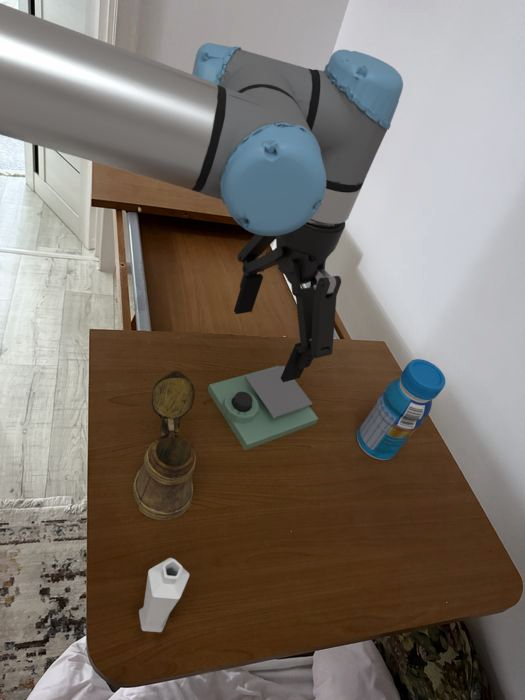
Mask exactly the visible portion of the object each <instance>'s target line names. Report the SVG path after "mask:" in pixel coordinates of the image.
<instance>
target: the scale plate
mask: <svg viewBox="0 0 525 700" xmlns="http://www.w3.org/2000/svg"><path fill="white" fill-rule="evenodd" d="M285 367H286V365H279V367H277V368H273V369H270V370H266V371H262V372H259V373H255V374H251V375H248V376H245V380H246V381H247V383H248V384H249V386H250V387H251V388H252V390H253V391H254V393H255V394H256V396H257V397H258V399H259V400H260V402H261V403H262V404H263V406H264V407H265V409H266V410H267V412H268V413H269V415H270V416H271V418H272V419H276V418H278V417H281V416H284V415H287V414H290V413H293V412H296V411H299V410H302V409H305V408H307V407H310V408H311V407H313V405H314V404H313V402H312V401H311V399H310V398H309V396H307V394H306V392H305V391H304V390H303V389H302V387H301V386H300V385H299V384H298V382H297V381H296V379H294V380H291V381H287V382H283V381H282V380H281V376H282V374H283V371H284V369H285Z"/></svg>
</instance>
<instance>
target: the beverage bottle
mask: <svg viewBox="0 0 525 700" xmlns="http://www.w3.org/2000/svg"><path fill="white" fill-rule="evenodd" d="M445 386H446V377H445V375H444V373H443V371H442V370H441V369H440V368H439V367H438V366H437V365H436V364H434V363H432V362H430V361H428V360H425V359H421V358H416V359H411V360H410V361H409V362H408V363H407V365H406V366H405V367H404V369H403V370H402V372H401V374H400V377H399V378H396V379H394V380H393V381H391V382H389V383H388V385H387V386H386V388H385V390H384V391H382V392H381V393H380V395H379V396H378V398H377V401H376V403H375V404H374V406H373V408H372V409H371V410H370V412H369V413H368V415H367V416H366V418H365V419H364V421H363V422H362V424H361V425H359V427H358V429H357V431H356V441H357V444H358V446H359V447H360V449H361V450H362V451H363V452H364V453H365V454H366V455H367V456H368V457H371V458H372V459H375V460H379V461H388V460H391V459H393V458H394V457H395V456H396V455H397V453H398V452H399V451H400V450H401V448H402V447H403V445H405V443H406V442H407V441H408V440H409V438H410V437H411V436H412V435H413V433H414V432H415V431H416V430H417V429H418V428H420V426H421V425H423V423H424V420H425V418H426V417H428V415H429V414H430V413H431V410H432V405H433V400H435V399H436V398H437V397H438V396H439V394H440V393H441V392H442V390H443V389H444V388H445Z"/></svg>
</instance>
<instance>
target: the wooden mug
mask: <svg viewBox="0 0 525 700" xmlns="http://www.w3.org/2000/svg"><path fill="white" fill-rule="evenodd" d="M195 391H196V390H195V387H194V384H193V383H192V381H191V379H190V378H188V377H187V375H185V374H183V373H182V371H179V370H177V369H174V370H173V371H171V372H169V373H168V374H165V376H163V377H162V378H161V379H159V380H158V381H157V382H156V383H155V385H154V386H153V389H152V393H151V407H152V410H153V411H154V413H155V414H156V415H157V416H158V417H159V419H161V421H160V428H159V429H160V430H159V433H161V434H160V436H159V437H158V438H156V439H155V440H154V441H153V442H152V443H151V444H150V445H149V447H148V448H147V450H146V452H145V454H144V455H143V456H144V458H143V465H142V467H141V468H140V469H139V470H138V471H137V473H136V476H135V477H134V481H133V483H132V486H131V487H132V495H133V500H134V503H135V504H136V507H137V509H138V510H139V512H141V514H142V515H145V516H146V517H147V518H150V519H153V520H157V521H170V520H171V521H172V520H173V519H175V518H179V517H180V516H182V515H183V514H185V513H186V512H187V510H188V509H189V508H190V506H191V503H192V501H193V493H194V486H193V475H194V472H195V469H196V453H195V447H194V444H193V443H192V442H191V441H190V440H189V439H187V438H185V437H184V436H181V435H179V434H178V433H179V432H180V427H181V425H180V424H181V418H183V417H184V416H186V415H187V414H188V413H189V412H190V411H191V410H192V408H193V406H194V402H195V398H196V397H195V396H196V393H195Z"/></svg>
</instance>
